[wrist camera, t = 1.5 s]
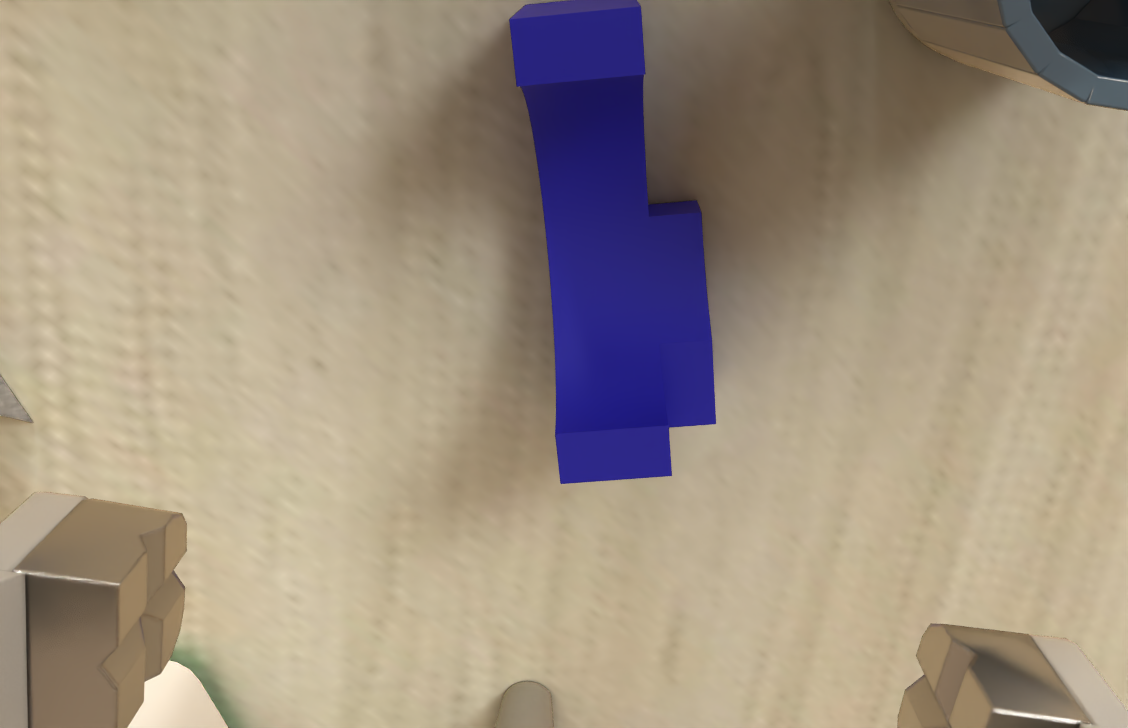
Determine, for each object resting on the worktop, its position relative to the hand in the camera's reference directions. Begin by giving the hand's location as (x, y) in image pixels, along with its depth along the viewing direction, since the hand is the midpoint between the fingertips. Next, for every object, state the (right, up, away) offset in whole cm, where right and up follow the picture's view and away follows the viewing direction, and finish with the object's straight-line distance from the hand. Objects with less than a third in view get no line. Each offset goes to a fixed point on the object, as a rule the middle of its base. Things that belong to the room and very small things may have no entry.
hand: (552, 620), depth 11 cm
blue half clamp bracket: (+2, +8, +20) cm, 22 cm away
